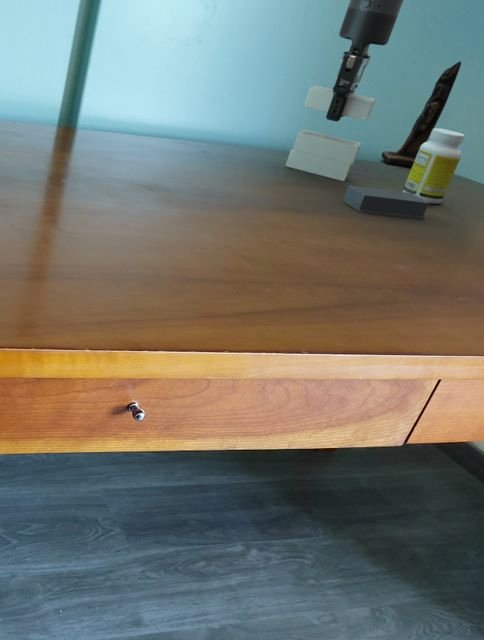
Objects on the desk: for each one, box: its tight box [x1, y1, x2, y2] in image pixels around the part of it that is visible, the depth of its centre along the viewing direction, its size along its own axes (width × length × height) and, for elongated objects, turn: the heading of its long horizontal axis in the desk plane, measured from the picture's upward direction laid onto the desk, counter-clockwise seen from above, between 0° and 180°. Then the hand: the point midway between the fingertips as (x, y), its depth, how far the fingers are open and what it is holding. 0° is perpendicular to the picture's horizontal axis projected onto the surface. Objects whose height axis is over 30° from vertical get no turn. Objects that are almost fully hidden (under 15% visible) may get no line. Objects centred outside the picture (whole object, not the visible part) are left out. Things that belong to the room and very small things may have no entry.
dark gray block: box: [343, 185, 429, 220], centre depth 104 cm, size 10×4×4 cm, turn 96°
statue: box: [381, 60, 462, 168], centre depth 140 cm, size 4×7×20 cm, turn 85°
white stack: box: [285, 128, 363, 182], centre depth 126 cm, size 10×4×6 cm, turn 61°
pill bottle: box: [401, 127, 465, 205], centre depth 119 cm, size 6×6×11 cm
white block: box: [303, 85, 377, 121], centre depth 122 cm, size 10×6×3 cm, turn 61°
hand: (334, 117), depth 123 cm, fingers closed on white block, 5 cm apart
